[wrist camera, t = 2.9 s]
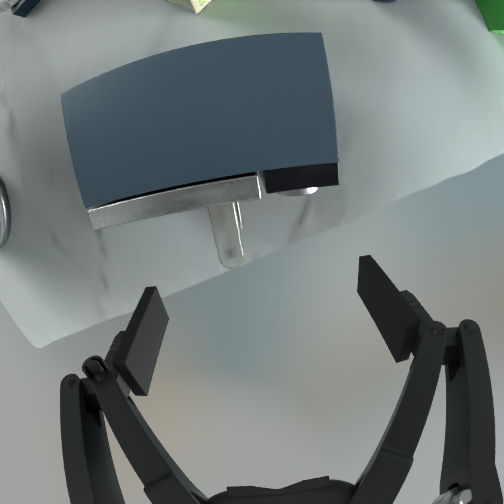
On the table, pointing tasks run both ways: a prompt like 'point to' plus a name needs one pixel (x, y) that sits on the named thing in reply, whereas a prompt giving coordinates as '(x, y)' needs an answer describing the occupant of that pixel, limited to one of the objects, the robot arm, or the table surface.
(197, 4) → the toy refrigerator
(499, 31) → the hardback book
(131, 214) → the microwave door
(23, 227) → the table surface
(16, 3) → the watch
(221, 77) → the microwave
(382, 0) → the storage jar
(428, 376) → the robot arm
